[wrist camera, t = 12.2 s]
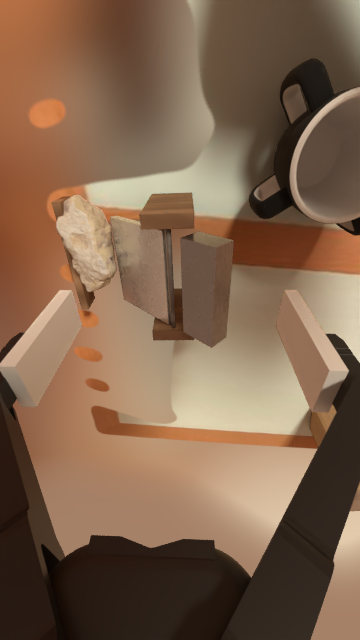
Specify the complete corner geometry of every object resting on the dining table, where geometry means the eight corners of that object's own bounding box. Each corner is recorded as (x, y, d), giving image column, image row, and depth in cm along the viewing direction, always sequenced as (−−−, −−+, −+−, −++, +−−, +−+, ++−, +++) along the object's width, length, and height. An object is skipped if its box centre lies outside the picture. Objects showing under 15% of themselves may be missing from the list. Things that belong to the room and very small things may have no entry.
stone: (143, 249, 45) (102, 282, 49) (86, 185, 40) (46, 227, 44) (134, 268, 39) (89, 304, 42) (65, 193, 33) (21, 242, 37)
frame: (62, 196, 41) (18, 218, 30) (191, 192, 40) (194, 213, 29) (88, 298, 50) (62, 341, 40) (192, 296, 50) (194, 339, 39)
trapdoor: (127, 213, 40) (110, 217, 38) (234, 238, 28) (216, 245, 27) (138, 293, 47) (124, 299, 45) (225, 338, 36) (211, 348, 34)
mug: (399, 105, 34) (487, 92, 24) (326, 229, 43) (368, 257, 33) (282, 56, 31) (326, 19, 22) (230, 198, 40) (244, 218, 30)
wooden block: (347, 423, 71) (396, 510, 54) (308, 427, 72) (344, 513, 55) (354, 399, 65) (411, 487, 49) (311, 403, 66) (353, 491, 50)
